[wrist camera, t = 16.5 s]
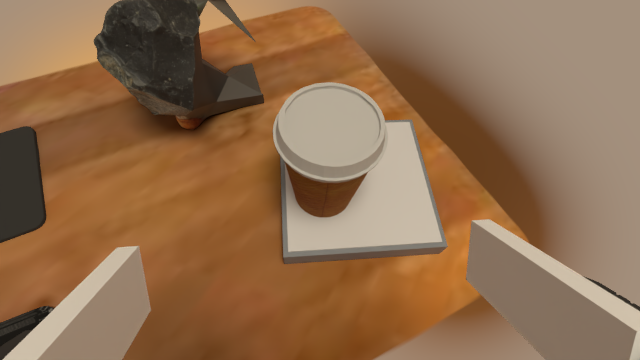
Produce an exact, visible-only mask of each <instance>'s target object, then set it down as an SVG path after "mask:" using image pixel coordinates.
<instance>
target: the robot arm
mask: <svg viewBox="0 0 640 360" xmlns="http://www.w3.org/2000/svg"><path fill="white" fill-rule="evenodd" d="M466 280H467V281H468V282H469V283H470V284H471V285H472V286H473V287H474V288H475V289H476V290H477V291H478V292H479V293H480V294H481V295H482V296H483V297H484V298H485V299H486V300H487V301H488V302H489V303H490V304H491V305H492V306H493V307H494V308H495V309H496V310H497V311H498V312H499V313H500V314H501V315H502V316H503V317H504V318H505V319H506V320H507V321H508V322H509V323H510V324H511V325H512V326H513V327H514V328H515V329H516V330H517V331H518V332H519V333H520V334H521V335H522V336H523V337H524V338H525V339H526V340H527V341H528V342H529V343H530V344H531V345H532V346H533V347H534V348H535V349H536V350H537V351H538V352H539V353H540V354H541V355H542V356H543V357H544V358H545V359H546V360H640V307H639V306H637V305H636V304H631V303H630V301H629V300H627V299H626V298H624V297H622V296H620V295H616V292H614V291H612V290H611V289H609V288H607V287H606V286H604V285H602V284H600V283H599V282H596V281H594V280H591V279H589V278H586V277H584V276H581V275H580V274H578V273H576V272H575V271H573V270H571V269H570V268H568V267H566V266H565V265H563V264H561V263H560V262H558V261H557V260H555V259H553V258H552V257H550V256H548V255H547V254H545V253H543V252H542V251H540V250H539V249H537V248H535V247H534V246H532V245H530V244H529V243H527V242H526V241H524V240H522V239H521V238H519V237H517V236H516V235H514V234H512V233H511V232H509V231H508V230H506V229H504V228H503V227H501V226H499V225H498V224H496V223H494V222H493V221H491V220H490V219H486V220H473V221H472V224H471V234H470V244H469V255H468V265H467V275H466ZM150 311H151V308H150V303H149V297H148V292H147V287H146V281H145V276H144V271H143V265H142V260H141V255H140V249H139V246H132V247H119V248H116V249H115V250H114V251H113V252H112V253H111V254H110V255H109V256H108V257H107V258H106V259H105V260H104V261H103V262H102V263H101V264H100V265H99V266H98V267H97V268H96V269H95V270H94V271H93V272H92V273H91V274H90V275H89V276H88V277H87V278H85V279H84V280H83V281H82V282H81V283H80V284H79V285H78V286H77V287H76V288H75V289H74V290H73V291H72V292H71V293H70V294H69V295H68V296H67V297H66V298H65V299H64V300H63V301H62V302H61V303H60V304H59V305H58V306H57V307H56V308H55V309H54V310H53V311H52V312H51V313H50V314H49V315H48V316H47V317H46V318H45V319H44V320H43V321H41V322H40V323H39V324H38V325H37V326H36V327H35V328H34V329H33V330H26V331H24V332H22V333H21V334H19V335H17V336H16V337H14V338H13V339H11V340H10V341H8V342H6V343H5V344H3V345H2V346H1V347H0V360H122V359H123V357H124V355H125V354H126V352H127V350H128V349H129V347H130V345H131V343H132V342H133V340H134V338H135V336H136V335H137V333H138V331H139V330H140V328H141V326H142V324H143V323H144V321H145V319H146V317H147V316H148V314H149V312H150Z"/></svg>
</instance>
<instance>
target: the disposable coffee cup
mask: <svg viewBox="0 0 640 360" xmlns="http://www.w3.org/2000/svg"><path fill="white" fill-rule="evenodd" d="M273 138H274V143H275V146H276V149H277V151H278V153H279V154H280V156H281V157H282V158H283V160H284V162H285V164H286V168H287V171H288V175H289V178H290V182H291V184H292V188H293V191H294V194H295V198H296V201H297V203H298V204H299V206H300V207H301V208H302V209H303V210H304V211H305V212H307V213H308V214H310V215H313V216H316V217H332V216H335V215H337V214H339V213H341V212H342V211H343V210H344V209H345V208H346V207H347V206H348V204H349V202H350V201H351V199H352V197H353V196H354V194H355V193H356V191H357V189H358V188H359V186H360V185H361V183H362V181H363V180H364V178H365V176H366V175H367V173H368V172H369V171H370V170H371V169H373V168H374V167H375V166H376V165H377V164H378V162H379V161H380V160H381V158H382V157H383V155H384V153H385V150H386V148H387V143H388V133H387V127H386V125H385V120H384V116H383V114H382V111H381V109H380V108H379V107H378V105H377V104H376V102H375V101H374V100H373V99H372V98H371V97H369V96H368V95H367V94H365V93H364V92H362V91H360V90H358V89H356V88H354V87H351V86H348V85H345V84H339V83H331V82H329V83H317V84H313V85H310V86H307V87H304V88H301V89H300V90H298V91H296V92H295V93H293V94H292V95H291V96H290V97H289V98H288V99H287V100H286V101H285V103H284V104H283V106H282V108H281V110H280V112H279V113H278V115H277V116H276V119H275V122H274V127H273Z"/></svg>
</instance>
